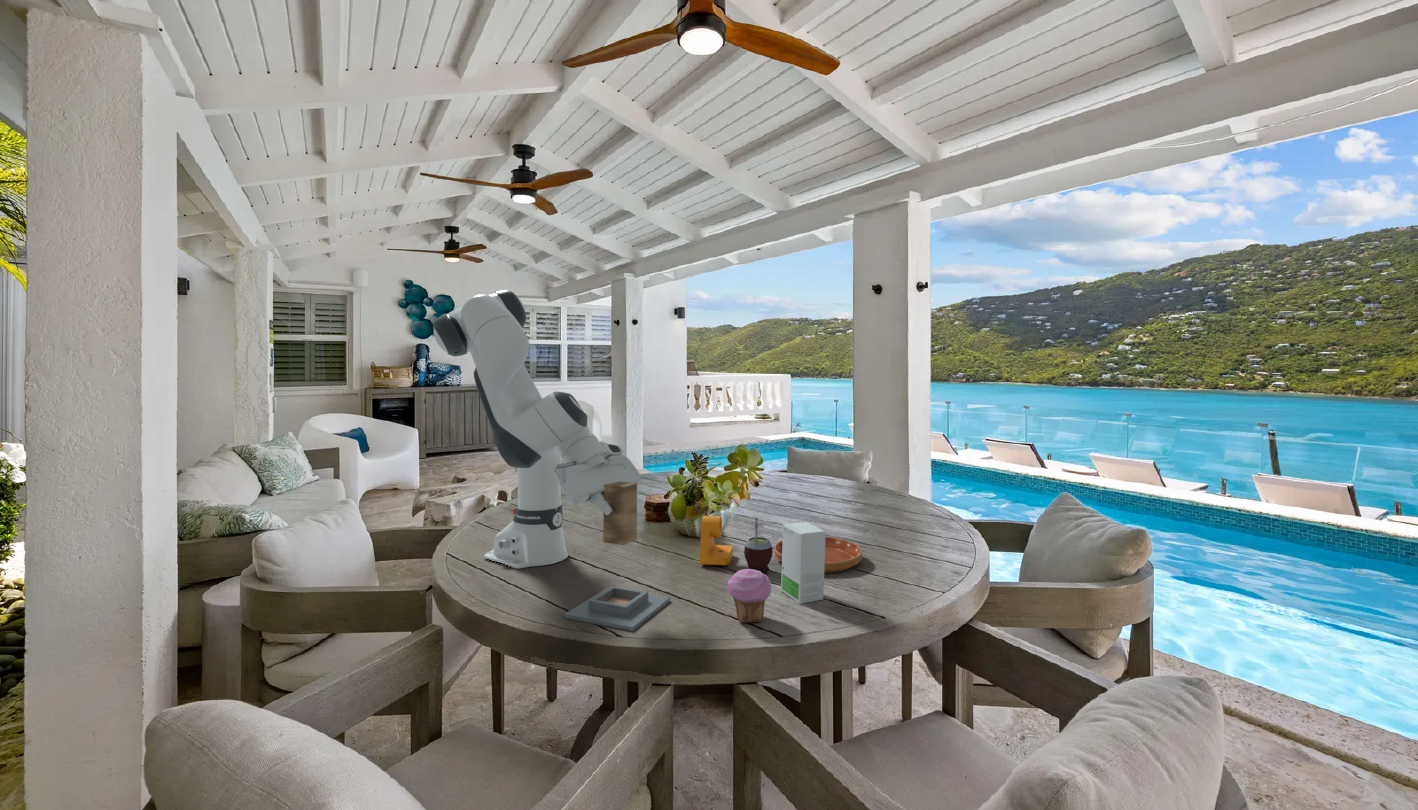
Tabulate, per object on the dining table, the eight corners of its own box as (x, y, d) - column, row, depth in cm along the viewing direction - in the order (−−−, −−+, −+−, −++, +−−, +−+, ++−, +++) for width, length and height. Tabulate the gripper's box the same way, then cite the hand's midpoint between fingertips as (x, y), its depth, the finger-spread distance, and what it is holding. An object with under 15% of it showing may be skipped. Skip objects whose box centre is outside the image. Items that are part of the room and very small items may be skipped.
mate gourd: (760, 564, 148) (760, 507, 148) (780, 573, 142) (780, 513, 141) (737, 570, 144) (737, 511, 144) (756, 579, 138) (756, 518, 137)
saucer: (845, 582, 136) (845, 567, 136) (759, 566, 148) (759, 552, 148) (872, 556, 155) (873, 543, 155) (794, 543, 167) (794, 531, 167)
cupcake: (730, 629, 111) (730, 578, 110) (725, 611, 119) (724, 563, 119) (775, 627, 112) (775, 576, 111) (767, 609, 120) (766, 562, 120)
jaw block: (603, 542, 119) (603, 484, 118) (616, 536, 123) (617, 481, 123) (623, 545, 117) (624, 486, 116) (636, 539, 121) (637, 483, 121)
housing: (564, 617, 117) (564, 604, 116) (608, 590, 131) (607, 578, 131) (632, 631, 110) (632, 617, 110) (670, 601, 125) (670, 588, 125)
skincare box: (780, 591, 130) (780, 523, 129) (805, 587, 133) (805, 520, 132) (800, 605, 122) (800, 533, 122) (826, 600, 125) (826, 529, 124)
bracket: (727, 568, 146) (727, 522, 145) (699, 567, 147) (699, 521, 147) (732, 555, 157) (732, 512, 156) (706, 554, 158) (706, 511, 157)
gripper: (558, 455, 114) (595, 510, 109) (625, 445, 131) (659, 492, 127) (543, 475, 117) (578, 529, 112) (610, 463, 134) (643, 509, 129)
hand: (622, 509), depth 120 cm, fingers closed on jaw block, 5 cm apart
